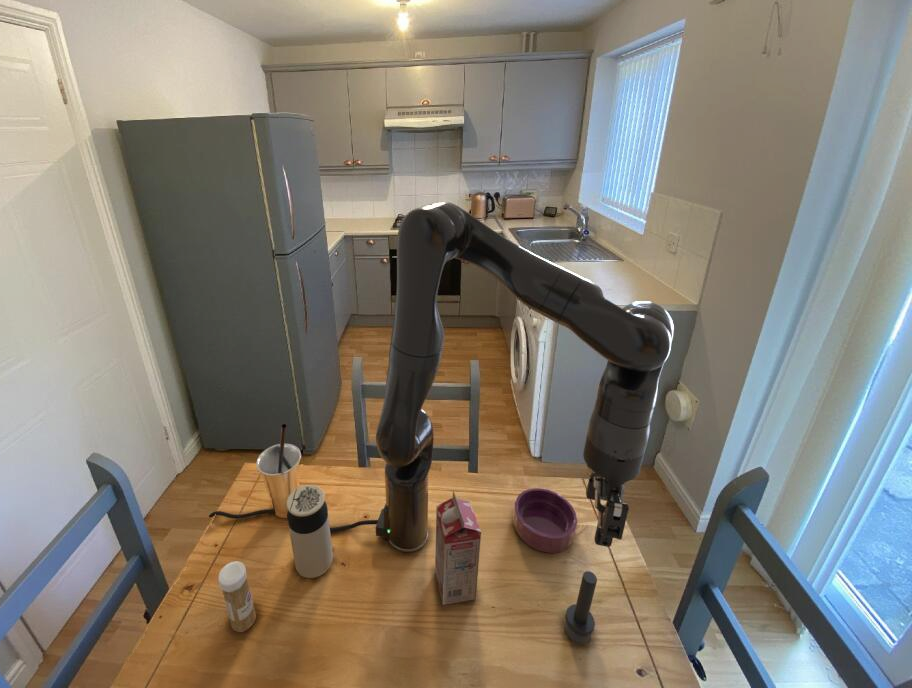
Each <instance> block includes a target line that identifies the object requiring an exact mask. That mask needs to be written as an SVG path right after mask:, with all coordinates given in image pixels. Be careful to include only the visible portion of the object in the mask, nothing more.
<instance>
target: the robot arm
mask: <svg viewBox="0 0 912 688" xmlns="http://www.w3.org/2000/svg"><path fill="white" fill-rule="evenodd" d="M396 237H397V238H396V239H397V240H396V293H395V302H394V311H393V312H394V313H393V322H392V331H391V335H390V345H389V351H388V367H387V373H386V382H385V389H384V390H385V392H384V399H383V405H382V409H381V412H380V417H379V421H378V425H377V428H376V433H375V434H376V435H375V443H376V448H377V451H378V453H379V455H380V457H381V458H382V460H384V462H385V466H384V483H385V484H384V487H385V488H384V490H385V504H384V507H383V508H381V510H380V514H379V516H378V518H377V519H365V520H359V521H356V522H353V523H351V524H345V525H341V526H334V527H330V533H334V532H335V533H336V532H341V531H347V530H351V529H354V528H357V527H360V526H365V525H375V536H376V537H379V538H384V542H387V543H389V545H390V546H391V547H392V548H393V549H395V550H396V551H398V552H401V553H413V552H417V551H419V550H420V549H422V548H424V547H425V544H426V543H427V541H428V538H429V473H430V470H431V468H432V464H433V456H434V455H433V454H434V440H435V439H434V438H435V435H434V427H433V423H432V421H431V418H430V417H429V415H428V414H427V412H426V411H425V410H423V409H422V408H423V405H424V404H425V401H426V399H427V397H428V395H429V393H430V391H431V389H432V387H433V384H434V382H435V380H436V377H437V375H438V372H439V368H440V364H441V361H442V360H441V358H442V354H443V349H444V341H445V331H444V326H443V322H442V319H441V316H440V312H439V309H438V293H439V287H440V282H441V279H442V278H441V277H442V274H443V271H444V267H445V265H446V264H447V262H449V261H452V260H453V259H457V260H459V261H463V262H466V263H468V264H471V265H474V266H476V267H477V268H479V269H481V270H483V271H485V273H487V274H489V275H490V276H492V277H493V278H494V279H495V280H496V281H497V282H499V284H501V286H503V288H505V290H506V291H507V292H508V293H510V294H511V295H512V297H514V298H515V299H516V300H517V301H519V303H521V304H523V305H524V306H525V307H527V308H528V309H530V310H532V311H534V312H536V313H537V314H540V315H541V316H543V317H546V318H547V319H549V320H550V321H552V322H555V323H557V324H558V325H560V326H562V327H564V328H566V329H568V330H569V331H571V332H572V333H573V334H574V335H575V336H576V337H577V338H579V340H580V341H582V342H583V343H585V344H586V345H587V346H588V347H590V349H592V350H593V351H595V352H596V353H597V354H598V355H600V356H601V357H603V359H605V360H607V362H606V366H605V368H604V371H603V373H602V375H601V376H600V377H601V378H600V381H599V383H598V387H597V392H596V397H595V402H594V406H593V410H592V412H591V414H590V418H589V422H588V428H587V433H586V437H585V442H584V448H583V452H582V453H583V454H582V456H583V460H584V462H585V464H586V467H587V469H588V471H587V472H588V473H587V479H588V482H587V486H586V491H585V496H586V499H588V500H591V501H594V508H595V509H596V510H597V514H598V515H597V525H596V530H595V534H594V537H593V539H594V543H595V545H597V546H601V547H606V548H609V547H611V546H612V544H613V540H614V539H617V540H621V541H622V540H623V535H624V530H625V527H626V522H627V518H628V513H629V510H630V508H629V507H630V506H629V504H628V502H627V503H626V502H624V501H623V499H624V498H623V497H624V494H625V492H626V491H625V490H626V489H625V483H628V482H630V481H633V480H635V479H636V478H637V477H638V476H639V474H640V471H641V468H642V465H643V461H644V457H645V453H646V450H647V446H648V442H649V438H650V434H651V433H650V432H651V422H652V419H653V415H654V411H655V407H656V403H657V398H658V390H659V389H658V388H659V381H660V378H661V374H662V370H663V367H664V364H665V363H666V361H667V359H669V356H670V353H671V351H672V350H671V349H672V343H673V338H674V335H675V326H674V323H673V322H674V321H673V319H672V317H671V316H670V314H669V312H668V311H667V310H666V309H665V308H664V307H662V306H661V305H659V304H658V303H655V302H652V301H645V300H641V301H640V300H639V301H634V302H632V303H629V304H627V305H625V306H624V307H623V308H622V307H620V306H619V305H617V304H615V303H613V302H612V301H611V300H609V299H607V298H606V297H605V296H604V291H603V290H602V288H601V287H600V286H599V285H598V284H596V283H595V282H593V281H591V280H590V279H587V278H584V277H583V276H580V275H579V274H577V273H575V272H572V271H570V270H568V269H566V268H564V267H563V266H560V265H557V264H555V263H553V262H551V261H550V260H547V259H546V258H543V257H542V256H539V255H537V254H535V253H533V252H531V251H529V250H528V249H525V248H524V247H522V246H520V245H518V244H517V243H515V242H514V241H512V240H510V239H508V238H506V237H505V236H504V235H502V234H500V233H498V231H495V230H494V229H492V228H491V227H489V226H488V225H486V224H485V223H484V222H482V221H480V220H479V219H478V218H476V217H475V216H474V215H472V214H471V213H469V212H468V211H466V210H465V209H463V208H462V207H460V206H458V205H456V204H454V203H452V202H447V201H438V202H433V203H429V204H426V205H422V206H420V207H417V208H416V207H415V208H413V209H411V210H410V211H409V212H407V214H405V216H403V218H402V220H401V222H400V224H399V227H398V231H397V236H396ZM601 500H602V501H606V502H605V504H602V501H601ZM215 514H216V515H215ZM265 514H273V515H275V514H276V513H275V511H274V510H273V508H272V509H270V508H269V509H268V508H267V509H266V508H265V509H261V510H260V509H259V510H255V511H252V512H247V513H241V514H240V513H239V514H235V513H230V512H226V511H221V510H215V511H212V512H211V513H210V514H209V515H208V518H214V517H215V516H221V517H225V518H230V519H235V520H236V519H237V520H239V519H245V518H250V517H255V516H258V515H265Z"/></svg>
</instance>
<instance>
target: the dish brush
mask: <svg viewBox="0 0 912 688" xmlns="http://www.w3.org/2000/svg"><path fill="white" fill-rule="evenodd" d="M597 583H598V578H597V575H596V574H595V573H593V572H592V571H589V570H586V571H583V573H582V578H581V582H580V586H579V590H578V595H577V599H576V604H570V605H569V606H568V607H567V608H566V612H565V614H564V615H565V618H564V620H565V621H564V631H565V634H566V635H567V637H568V638H569V639H570V640H571V641H572V642H574V643H576V644H579V645H585V644H587V643H588V642H589V641H590V639H591V637H592V634H593V632H594V630H595V626H596V621H595V618H594V616H593V614H592V613H591V606H592V602H593V600H594V599H593V598H594V595H595V590H596V586H597Z"/></svg>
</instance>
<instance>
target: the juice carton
mask: <svg viewBox="0 0 912 688" xmlns="http://www.w3.org/2000/svg"><path fill="white" fill-rule="evenodd" d="M435 510H436V511H435V512H436V513H435V555H434V556H435V557H434V558H435V560H434V574H435V578H436V583H437V587H438V591H439V594H440V595H439V596H440V599H441V603H442V605H444V606H445V605H450V604H455V603H461V602H469V601H472V600H473V601H474V600H476V599H477V598H476V597H477V587H478V577H479V576H478V575H479V563H480V551H481V550H480V549H481V537H482V530H481V528H480V525H479V522H478V520H477V517H476V514H475V511H474V509H473V506H472V503H471V501H469V500H466V499H461V498H457V496H456V494H455V491H454V490H453V491H452V497H451V498H449V499H447V500H445V501H444V502H441V503H439V504H438V505H437V506H436V509H435Z"/></svg>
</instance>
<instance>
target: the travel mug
mask: <svg viewBox="0 0 912 688" xmlns="http://www.w3.org/2000/svg"><path fill="white" fill-rule="evenodd" d="M325 499H326V495H325V492H324V489H322V487H320V486H317V485H314V484H305V485H304V484H303V485H302V486H300V487H299V488H297V489H295V490H294V491H293V492H292V493H291V494H290V495H289V497H288V499H287V503H286V505H287V509H288V512H287V517H286V518H287V525H288V530H289V537H290V542H291V549H292V553H293V554H292V555H293V560H294V561H293V562H294V566H295V570H296V571H297V573H298V574H299V575H300V577H303V578H305V579H315V578H318V577H321V576H322V575H324V574H325V573H326V572H327V571H328V570H329V569H330V567H331V565H332V564H333V560H334V554H333V543H332V536H331V532H330V528H331V527H330V517H329V510H328V504H327V502H326V500H325Z"/></svg>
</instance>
